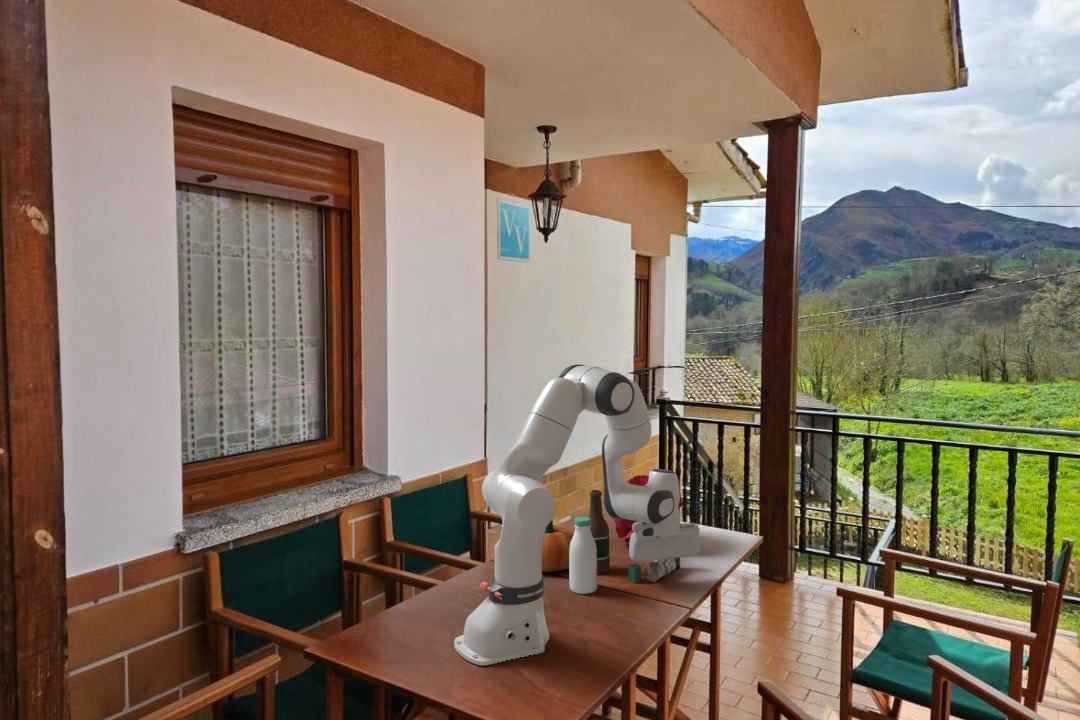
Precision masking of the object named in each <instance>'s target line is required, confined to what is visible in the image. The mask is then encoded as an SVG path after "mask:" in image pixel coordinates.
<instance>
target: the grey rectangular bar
mask: <svg viewBox="0 0 1080 720" xmlns="http://www.w3.org/2000/svg"><path fill="white" fill-rule="evenodd" d="M667 561H668V560H667V559H664V562H663V563H662V564H663V566H665V565H666V563H667ZM674 569H676V558H674V562H673V564H672V565H671V567H670V572H673V571H675V570H674ZM672 570H673V571H672ZM648 574H649V578H648V581H650V582H653V583H655V582H657V581H659V579H660V578H663V576H665V575H667V574H668V573H666V574H662V573H661V567H660V565H659V563H658V562H657V560H649V562H648Z"/></svg>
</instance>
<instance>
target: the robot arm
mask: <svg viewBox="0 0 1080 720" xmlns="http://www.w3.org/2000/svg"><path fill="white" fill-rule="evenodd" d="M646 403H647V402H646V401H645V397H644V395H643V393H642V390H641V387H640V386H639V384H638V383H637V382H635V381H634V380H632V379H629V378H627V376H625V375H623V374H621V373H619V372H614V371H611V370H608V369H604V368H603V367H600V366H599V367H598V366H595V365H594V366H592V365H585V364H572V365H569V366H567V367H566V368H564V369H563V370H562V371H561V373H560V374H559V375H558V376H557V377H555V378H552V379H551V380H550V381H548V382H547V383H546V385H545V386H544V388H543V389H542V391H541V392H540V393H539V395H538V397H537V398H536V401H535V403H534V404H533V406H532V408H531V410H530V412H529V414H528V417H527V419H526V421H525V423H524V425H523V427H522V429H521V431H520V433H519V436H518V438H517V440H516V442H515V443H514V445H513V446H512V447H511V449H510V451H509V452H508V453H507V455H506V456H505V457H504V458H503V460H502V461H501V462H500V464H499V465H498V466H497V467H496V468H495V469H494V470H492V471H490V472H489V473H488V474H487V475H486V477H485V478H484V480H483V482H482V485H481V494H482V498H483V500H484V501H485V503H486V504H487V506H488V507H489V508H490V509H491V511H493V512H495V513H496V514H497V515H499V516H500V517H501V521H502V526H501V532H500V537H499V540H498V541H497V542H496V543H495V546H494V549H493V551H494V578H493V580H492V583H491V584H489V583H488V582H486V581H483V582H481V583H480V585H479V589H480V590H481V591H483V592H484V593H488V596H487V597H486V598H485V599H484V600H483V601H482V602H481V604H479V605H478V606H477V607H476V608H475V609H474V610H473V611H472V612H471V613H470V614H469V615H468V616H467V618H466V619H465V623H464V628H463V634H462V635H459V636H458V637H455V639H454V642H453V646H454V650H455V651H456V652H457V654H459V655H460V657H462V658H464V659H465V660H466V661H468V662H470V663H471V664H475V665H478V666H482V667H485V666H488V665H495V664H497V663H498V662H499V663H503V662H507V661H506V660H508V661H512V660H511V659H513V660H517V659H520V657H522V658H526V657H530V656H529V655H531V656H534V654H535V655H539V653H540V654H543V653H545V650H546V648H545V647H546V644H547V643H548V642H549V640H550V633H549V629H548V626H547V621H546V617H545V609H544V599H543V598H544V594H545V582H544V576H543V573H542V572H543V571H542V542H543V537H544V533H545V529H546V526H547V525H548V524H549V523H550V522H551V521H552V519H554V517H555V516H556V515H555V514H556V511H557V502H556V498H555V497H554V495H553V493H552V492H551V491H550V490H549V489H548V488H547V487H546V486H545V484H543V483H542V482H540V480H542V478H543V476H544V475H545V474H546V473H547V471H549V469H551V468H553V466H555V465H556V464H558V463H559V462H560V460H561V458H562V457H563V454H564V451H565V450H566V447H567V445H568V442H569V440H570V438H571V436H572V433H573V431H574V429H575V426H576V423H577V421H578V418H579V416H580V415H581V413H582V412H583V411H584V410H585V411H587V412H591V413H594V414H601V415H604V416H605V421H606V425H607V432H608V433H607V435H605V436H604V438H603V441H602V443H601V461H602V472H603V473H602V474H603V486H604V487H603V489H604V490H603V500H602V501H603V502H602V504H603V507H604V510H606V512H607V514H608V515H609V516H610V517H611V518H619V519H629V520H633V521H638V522H636V523H634V524H633V525H632V529H633V531H634V533H632V535H631V537H630V542H629V543H628V544H629V545H628V546H629V547H628V552H629V553H628V554H629V557H630V559H631V560H632V561H633V562H648V561H649V562H650V561H655V560H657V562H658V563H659V565H660V567H661V573H662V574H665V575H667V574H671V571H670V567H671V565H672V564H673V562H674V558H679V557H680V558H689V557H697V556H699V554H700V553H701V544H700V538H699V536H700V528H699V525H698V524H696V523H695V522H689V523H688V522H687V523H681V513H680V510H679V508H678V505H679V502H680V497H681V496H680V483H679V478H678V475H677V473H676V472H675V471H673V470H671V469H670V470H669V469H661V468H653V469H651V470H650V471H649V474H648V476H649V482H648V483H647V484H646V485H645V486H638V485H632V484H629V483H627V482H626V481H627V480H625V479H624V471H623V470H624V469H623V460H622V459H623V457H625V456H628V455H632V454H634V453H635V454H636V453H637V452H639V451H640V450H642V448H644V447H645V446H647V444H648V443H649V442H650V439H651V437H652V423H651V418H650V415H649V411H648V407H647V404H646ZM664 559H667V560H668V561H667V563H666V565H665V566H663V564H662V563H663V562H664ZM666 573H667V574H666ZM525 656H526V657H525ZM516 658H517V659H516ZM502 661H503V662H502ZM499 663H498V664H499ZM484 665H485V666H484Z"/></svg>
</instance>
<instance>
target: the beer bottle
mask: <svg viewBox="0 0 1080 720" xmlns="http://www.w3.org/2000/svg"><path fill="white" fill-rule="evenodd" d="M589 496H590V499H589V500H590V502H589V515H588V517H589V518H590V519H591V527H590V530H591V534H592V536H593V538H594V541H595V543H596V548H597V574H598V575H603V574H602V573H605V574H606V573H608V572H607V571H608V570H609V571H610V565H611V563H610V562H611V561H610V559H611V558H610V555H611V554H610V550H611V549H610V548H611V547H610V528H609V524H608V522H607V521H606V520H605V518H604V513H603V502H602V501H603V500H602V496H603V492H602V491H601V490H600V489H593V490H591V491H589Z"/></svg>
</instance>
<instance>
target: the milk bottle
mask: <svg viewBox="0 0 1080 720" xmlns="http://www.w3.org/2000/svg"><path fill="white" fill-rule="evenodd" d="M574 527H575V529H574V532H573V534H574V536H573V538H572V540H571V543H570V549H569V568H568V570H569V573H568V574H569V575H568V576H569V579H568V580H569V589H570V591H571V592H573V593H575V594H579V595H585V594H586V595H587V594H593V593H594V592H596V591H597V589H598V575H597V548H596V543H595V541H594V538H593V536H592V534H591V530H590V527H591V519H590V518H589V516H576V517H575V518H574Z"/></svg>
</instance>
